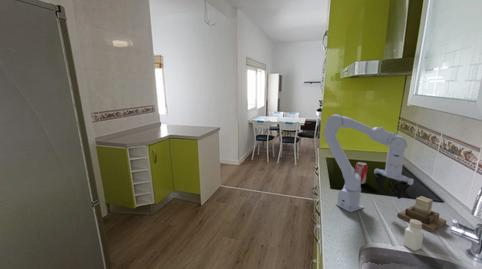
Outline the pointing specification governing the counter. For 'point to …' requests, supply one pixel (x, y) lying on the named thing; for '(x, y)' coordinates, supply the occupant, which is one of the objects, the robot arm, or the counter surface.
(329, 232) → the counter surface
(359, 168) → the beverage can
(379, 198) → the counter surface
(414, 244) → the salt shaker
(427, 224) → the peg holder
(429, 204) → the birch peg
